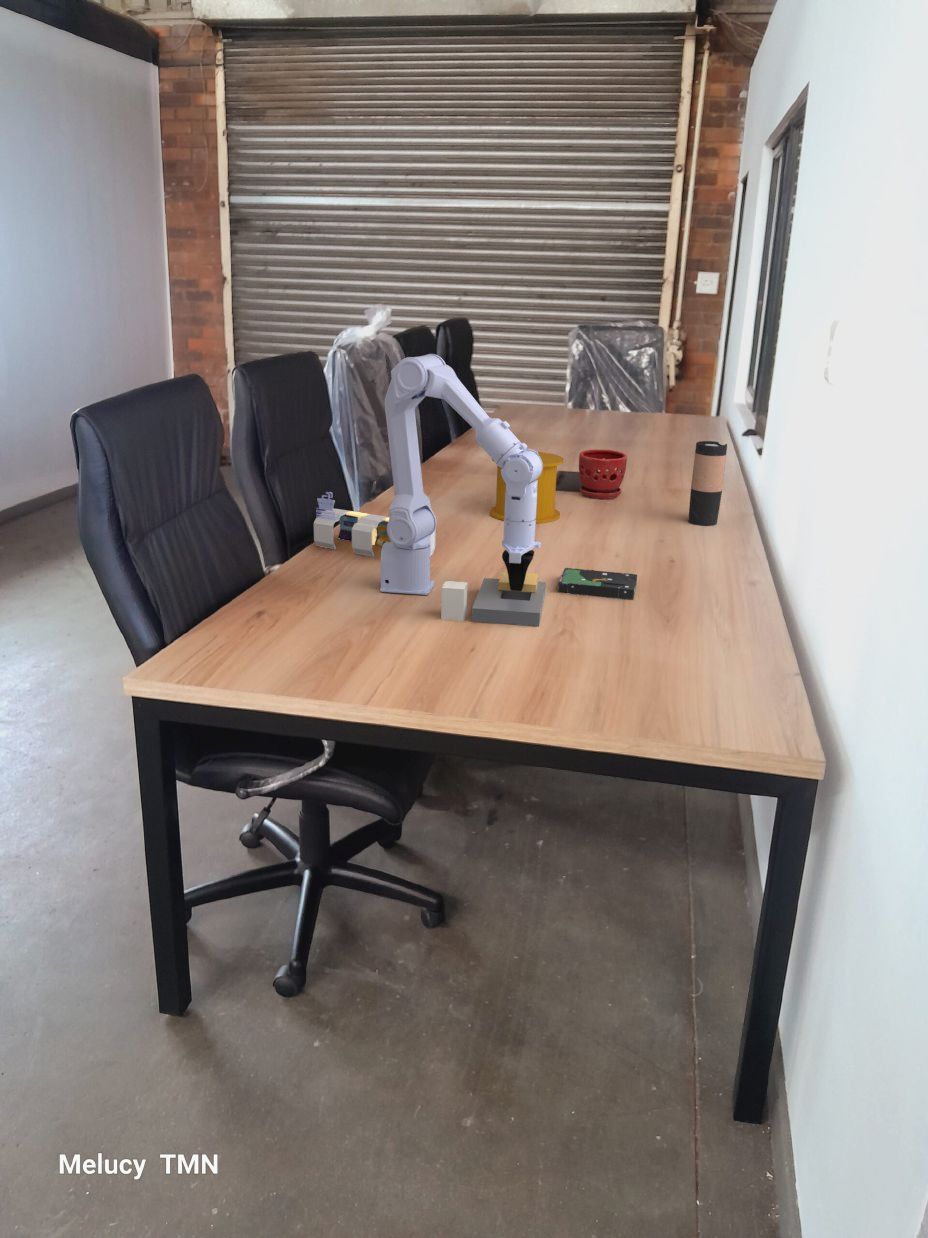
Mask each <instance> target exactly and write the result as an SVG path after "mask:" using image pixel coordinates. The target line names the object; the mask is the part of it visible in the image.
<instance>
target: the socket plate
mask: <svg viewBox="0 0 928 1238" xmlns="http://www.w3.org/2000/svg"><path fill="white" fill-rule="evenodd" d="M499 580H500V578H495V577H493V578H491V577H484V578H483V580H482V583H481V585H480V586H479V590H478V592H477V596H476V598H475V600H474V603H473V605H472V608H471V622H474V623H475V622H476V623H489V624H502V625H503V624H504V625H512V626H513V625H514V626H529V627H540V623H541V618H542V613H543V608H544V603H545V602H544V601H545V597H546V587H547V585H546V584H547V582H546V581H538V584H537V589H536V593H535V592H521V591H507V590H498V585H499Z"/></svg>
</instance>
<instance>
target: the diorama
mask: <svg viewBox="0 0 928 1238" xmlns="http://www.w3.org/2000/svg"><path fill="white" fill-rule="evenodd" d="M325 494H326V495H325ZM325 494H324V495H323V494H322V495H321V498H320V497H319V498H318V497H317V504H318V507H316V511H315V512H316V518H315V520H314V522H313V541H314V543H315V544H316V547H317V546H323V547H327V548H330V549H329V550H333V549H334V551H336V550H337V547H336V545H335V542H334V540H335V539H334V525H335V523H337V522H339V532H338V535H337V539H338V538H340V539H339V540H342V539H344V540H343V541H348V540H349V541H348V542H351V548H352V550H353V552H354V554H356V555H361V556H367V557H373V558H375V553H374V551H373V546H378V547H382V546H383V544H384V543H392V542H391V540H390V539H389V537H388V534H387V524H388V522H389V517H390V516H385V515H378V514H371V513H366V512H359V511H352V510H348V509H347V510H346V509H340V508H334V505H335V503H336V500H334V499H333V492H331V491H329V492H328V491H326V492H325ZM324 497H325V498H324ZM326 497H328V498H326ZM436 531H437V529H435V531H434V532H433V533H432V534H431V535H430V541H431V544H430V545H431V550H430V557H432V556H433V555H434V553H435V549H436V533H437V532H436ZM327 548H326V549H327ZM431 555H432V556H431Z"/></svg>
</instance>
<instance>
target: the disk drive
mask: <svg viewBox="0 0 928 1238" xmlns="http://www.w3.org/2000/svg"><path fill="white" fill-rule="evenodd" d="M637 580H638V574H635V573H629V572H626V573H625V572H615V571H603V570H602V571H601V570H592V569H583V568H570V567H565V568H564V569H563V571H562V573H561V576H560V578H559V581H558V585H557V593H558V592H559V593H560V594H567V593H570V594H569V595H577V594H579V596H587V595H588V596H591V597H597V598H598V597H600V598H610V599H621V600H628V601H630V600H631V601H633V600H634V598H635V593H636V589H637V583H638V582H637Z"/></svg>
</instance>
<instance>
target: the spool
mask: <svg viewBox="0 0 928 1238" xmlns="http://www.w3.org/2000/svg"><path fill="white" fill-rule="evenodd" d="M536 452H537V453H538V455H539V456H540V458H541V460H542V463H543V470H542V473H541V475H540V476H539V477H538V478H537V479H536V480H538V483H537V507H536V524H544V523H545V524H546V523H550V522H554V521H557V520H559V519H560V518H561V512H560V511H559V510H558V509H556V508H555V505H556V488H557V471H558V466H560V465H563V463H564V457H563V456H561V455H558V454H553V453H549V452H542V451H536ZM491 461H493V462H494V463H495V461H494V460H493V459H492V458H491ZM496 465H497V464H496ZM496 468H497V469H496V470H497V471H496V490H495V491H496V495H495V496H496V497H495V506H493V507H491V508H490V510H489V515H490V516H491V517H493V518H495V519H496V520H499V521H503V522H504V513H505V493H506V483H505V481H504V480H503V478H502V475H501V469H502V468H501V467H499V466H498V465H497V466H496ZM536 480H534V481H536ZM534 481H532V482H534ZM530 483H531V482H530Z"/></svg>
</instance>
